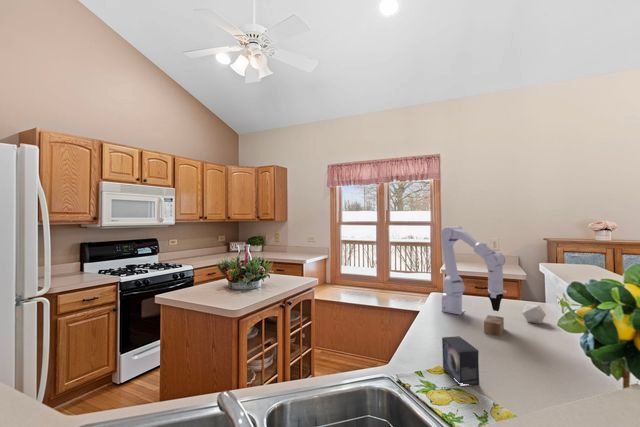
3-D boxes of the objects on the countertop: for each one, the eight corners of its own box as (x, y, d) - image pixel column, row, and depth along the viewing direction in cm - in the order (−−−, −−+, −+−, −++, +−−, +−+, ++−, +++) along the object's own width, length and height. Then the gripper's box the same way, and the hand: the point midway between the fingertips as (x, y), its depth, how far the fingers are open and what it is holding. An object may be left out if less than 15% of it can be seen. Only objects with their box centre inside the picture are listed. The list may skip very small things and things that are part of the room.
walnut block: (488, 325, 132) (484, 333, 124) (487, 314, 132) (484, 321, 124) (503, 328, 128) (500, 336, 121) (503, 317, 128) (500, 324, 121)
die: (543, 321, 138) (528, 302, 143) (554, 318, 130) (538, 298, 135) (528, 328, 137) (514, 309, 142) (538, 325, 129) (523, 305, 134)
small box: (441, 368, 96) (440, 336, 96) (460, 367, 97) (459, 335, 97) (459, 387, 85) (458, 351, 86) (480, 385, 86) (479, 350, 86)
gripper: (503, 284, 123) (504, 316, 123) (507, 278, 135) (508, 308, 135) (484, 282, 128) (485, 313, 128) (490, 276, 139) (490, 305, 139)
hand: (495, 310), depth 131 cm, fingers closed
